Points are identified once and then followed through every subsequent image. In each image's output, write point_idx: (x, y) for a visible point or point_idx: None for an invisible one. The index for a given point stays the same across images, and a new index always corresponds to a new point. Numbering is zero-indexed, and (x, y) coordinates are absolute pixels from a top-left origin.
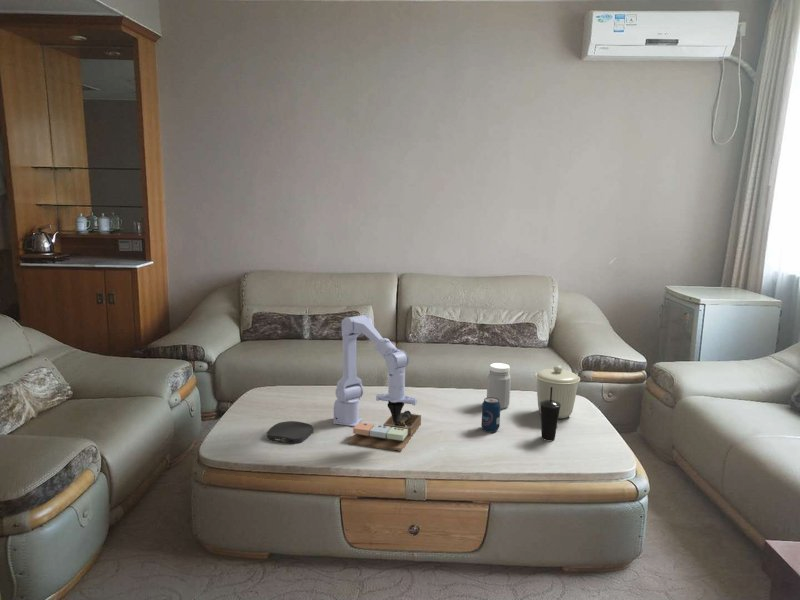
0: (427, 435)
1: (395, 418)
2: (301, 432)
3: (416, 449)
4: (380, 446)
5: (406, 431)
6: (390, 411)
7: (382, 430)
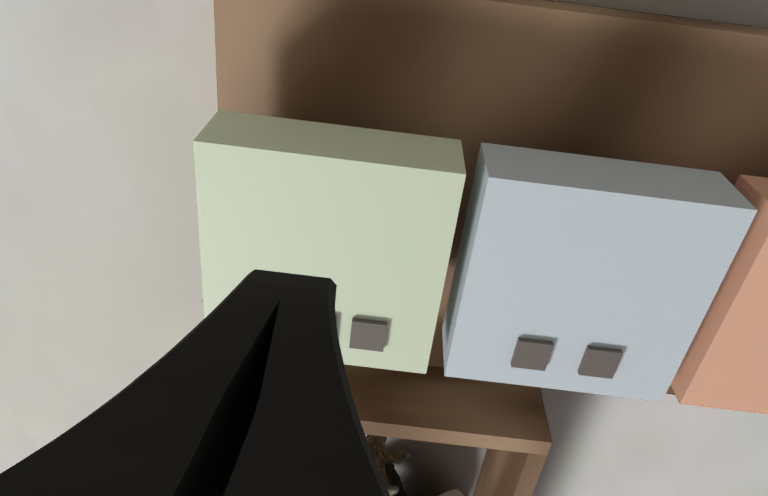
0: None
1: (250, 319)
2: None
3: (75, 77)
4: (530, 3)
5: (206, 297)
6: (380, 484)
7: (548, 251)
